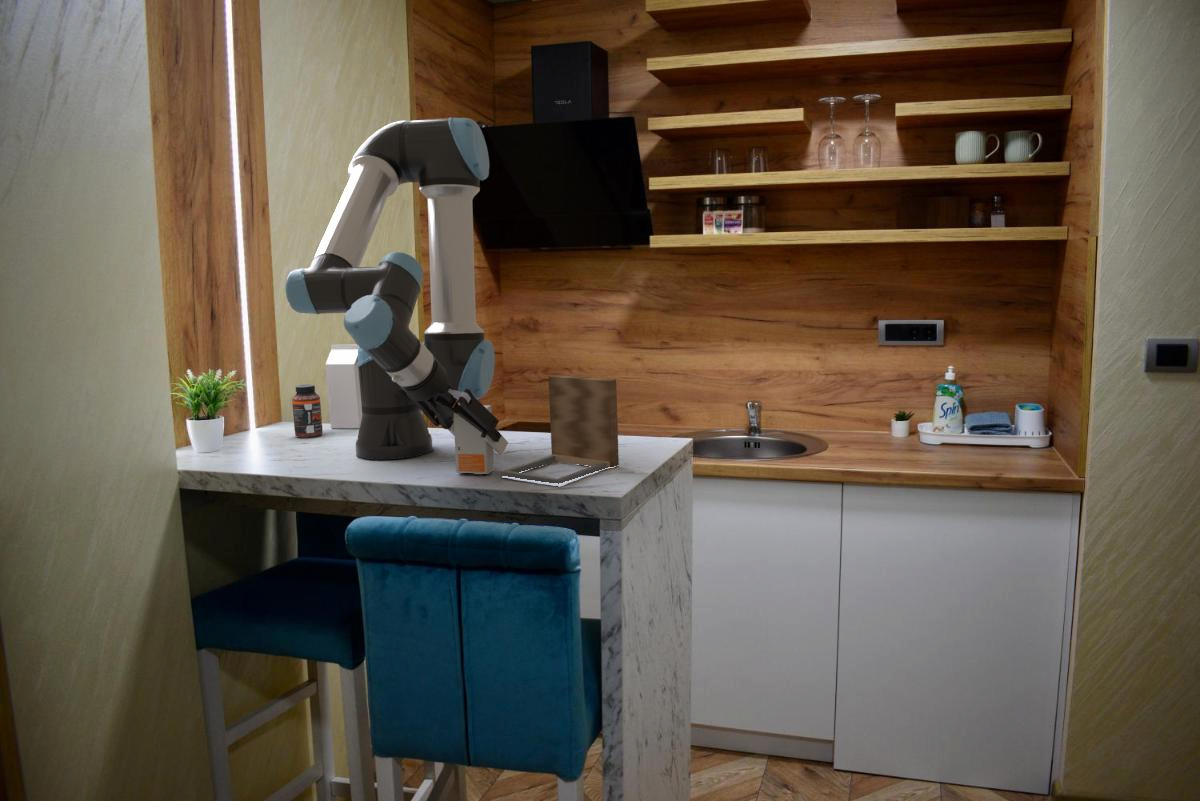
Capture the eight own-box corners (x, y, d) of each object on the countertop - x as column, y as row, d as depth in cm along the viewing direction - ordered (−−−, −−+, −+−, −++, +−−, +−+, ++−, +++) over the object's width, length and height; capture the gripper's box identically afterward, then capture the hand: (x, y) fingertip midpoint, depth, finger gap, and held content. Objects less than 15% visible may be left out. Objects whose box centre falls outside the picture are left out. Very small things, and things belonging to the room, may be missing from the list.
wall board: (551, 459, 177) (548, 376, 174) (558, 457, 178) (555, 375, 176) (612, 468, 169) (609, 381, 166) (618, 466, 170) (616, 379, 167)
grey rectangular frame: (501, 478, 165) (500, 471, 164) (554, 460, 176) (553, 454, 176) (559, 487, 157) (558, 480, 157) (610, 468, 169) (610, 461, 169)
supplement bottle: (318, 438, 204) (313, 387, 202) (291, 438, 204) (286, 388, 202) (326, 432, 210) (322, 382, 208) (300, 433, 210) (295, 383, 208)
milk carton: (359, 429, 213) (352, 346, 209) (330, 428, 214) (323, 346, 211) (373, 422, 220) (366, 342, 216) (345, 422, 221) (338, 342, 218)
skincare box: (455, 474, 167) (451, 409, 165) (464, 468, 171) (460, 404, 169) (488, 475, 166) (484, 409, 164) (495, 469, 170) (492, 404, 168)
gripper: (365, 384, 159) (439, 457, 175) (449, 393, 148) (520, 470, 163) (386, 350, 162) (457, 424, 178) (470, 355, 151) (538, 434, 167)
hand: (487, 446), depth 171 cm, fingers closed on skincare box, 7 cm apart
